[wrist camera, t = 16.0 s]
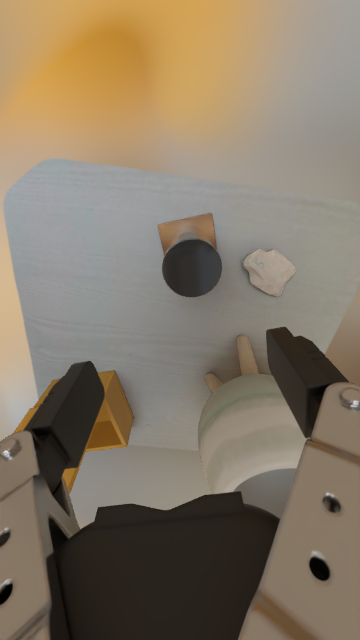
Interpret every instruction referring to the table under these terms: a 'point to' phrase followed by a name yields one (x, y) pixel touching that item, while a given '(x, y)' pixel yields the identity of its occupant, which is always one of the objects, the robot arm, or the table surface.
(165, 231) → the pad
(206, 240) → the dark grey cylinder
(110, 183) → the table surface
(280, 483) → the planter
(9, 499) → the robot arm
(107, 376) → the chest
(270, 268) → the decorative stone
